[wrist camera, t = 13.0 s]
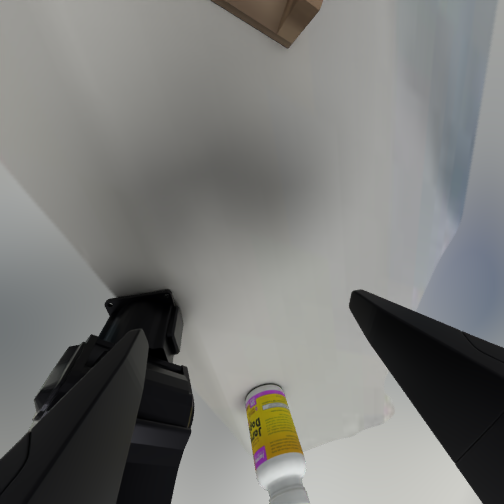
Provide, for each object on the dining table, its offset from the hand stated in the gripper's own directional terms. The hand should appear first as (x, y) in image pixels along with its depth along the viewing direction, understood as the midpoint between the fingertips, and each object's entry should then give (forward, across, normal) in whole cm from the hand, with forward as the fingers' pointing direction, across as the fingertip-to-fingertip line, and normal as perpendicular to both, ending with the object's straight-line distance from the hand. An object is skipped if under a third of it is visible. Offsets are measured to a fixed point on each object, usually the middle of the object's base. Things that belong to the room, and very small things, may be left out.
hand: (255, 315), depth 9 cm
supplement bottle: (+13, -3, +31) cm, 34 cm away
